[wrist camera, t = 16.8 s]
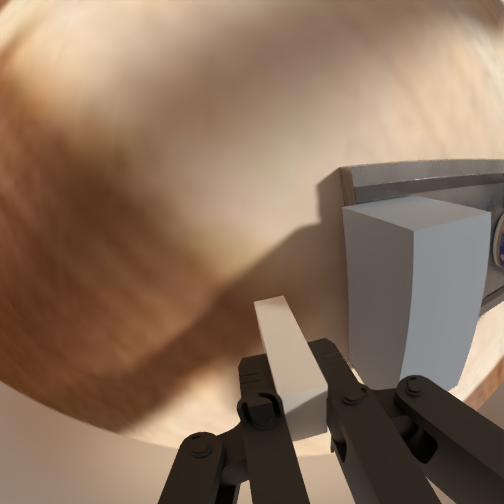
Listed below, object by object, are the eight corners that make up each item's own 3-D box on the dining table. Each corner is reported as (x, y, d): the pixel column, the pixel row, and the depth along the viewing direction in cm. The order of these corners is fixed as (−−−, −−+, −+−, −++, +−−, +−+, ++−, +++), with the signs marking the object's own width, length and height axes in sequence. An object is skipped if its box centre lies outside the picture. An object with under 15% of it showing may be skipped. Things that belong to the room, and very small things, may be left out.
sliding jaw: (341, 207, 13) (413, 231, 8) (414, 195, 14) (491, 212, 8) (344, 422, 18) (369, 475, 13) (395, 402, 19) (426, 448, 13)
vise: (339, 167, 15) (425, 167, 8) (521, 160, 16) (573, 168, 9) (350, 361, 19) (395, 430, 11) (515, 281, 20) (557, 305, 13)
